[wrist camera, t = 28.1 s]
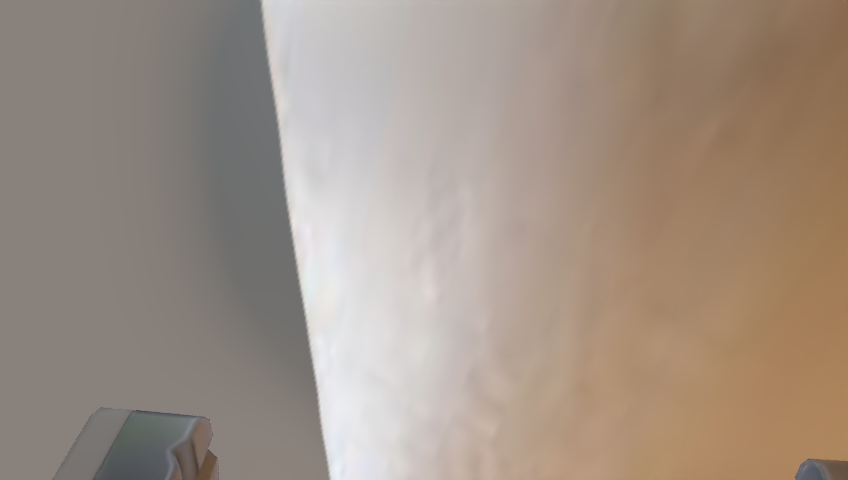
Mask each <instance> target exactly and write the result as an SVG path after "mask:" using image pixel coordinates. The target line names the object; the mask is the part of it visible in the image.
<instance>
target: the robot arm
mask: <svg viewBox="0 0 848 480" xmlns="http://www.w3.org/2000/svg"><path fill="white" fill-rule="evenodd" d="M212 437H213V432H212V428H211V423H210V419H208V418H206V417H202V416H191V415H180V414H171V413H160V412H150V411H140V410H136V411H135V410H123V409H112V408H102V407H101V408H100V409H99V410H97V411H96V412H95V413H93V414H92V415H91V416H90V418H89V419H88V421H87V423H86V424H85V426H84V428H83V429H82V431H81V433H80V434H79V436H78V438H77V439H76V441H75V442H74V444H73V446H72V448H71V449H70V451H69V452H68V454H67V456H66V458H65V459H64V461H63V462H62V464H61V466H60V467H59V469H58V471H57V472H56V474H55V476H54V477H53V479H52V480H219V465H218V460H217V457H216V456H215V455H214V454H213V453H212V452H211V451H210V450H209V449H208V448H209V445H210V442H211V440H212ZM795 479H796V480H848V461H838V460H821V459H807V460H806V461H805V462H804V463H802V464H801V465H800V468H799V470H798V472H797V474H796V476H795Z"/></svg>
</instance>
